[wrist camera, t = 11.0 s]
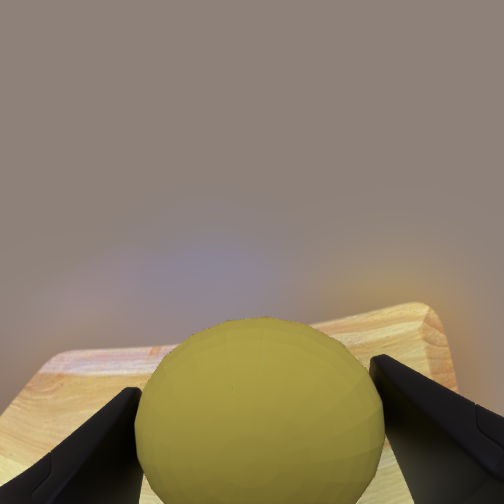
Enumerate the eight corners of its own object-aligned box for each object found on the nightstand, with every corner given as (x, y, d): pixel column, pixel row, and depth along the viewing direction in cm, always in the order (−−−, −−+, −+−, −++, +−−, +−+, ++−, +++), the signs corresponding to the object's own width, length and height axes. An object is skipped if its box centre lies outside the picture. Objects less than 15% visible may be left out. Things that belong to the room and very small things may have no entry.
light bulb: (196, 466, 12) (84, 545, 3) (207, 344, 15) (105, 268, 6) (330, 475, 11) (401, 578, 2) (338, 350, 14) (431, 280, 5)
